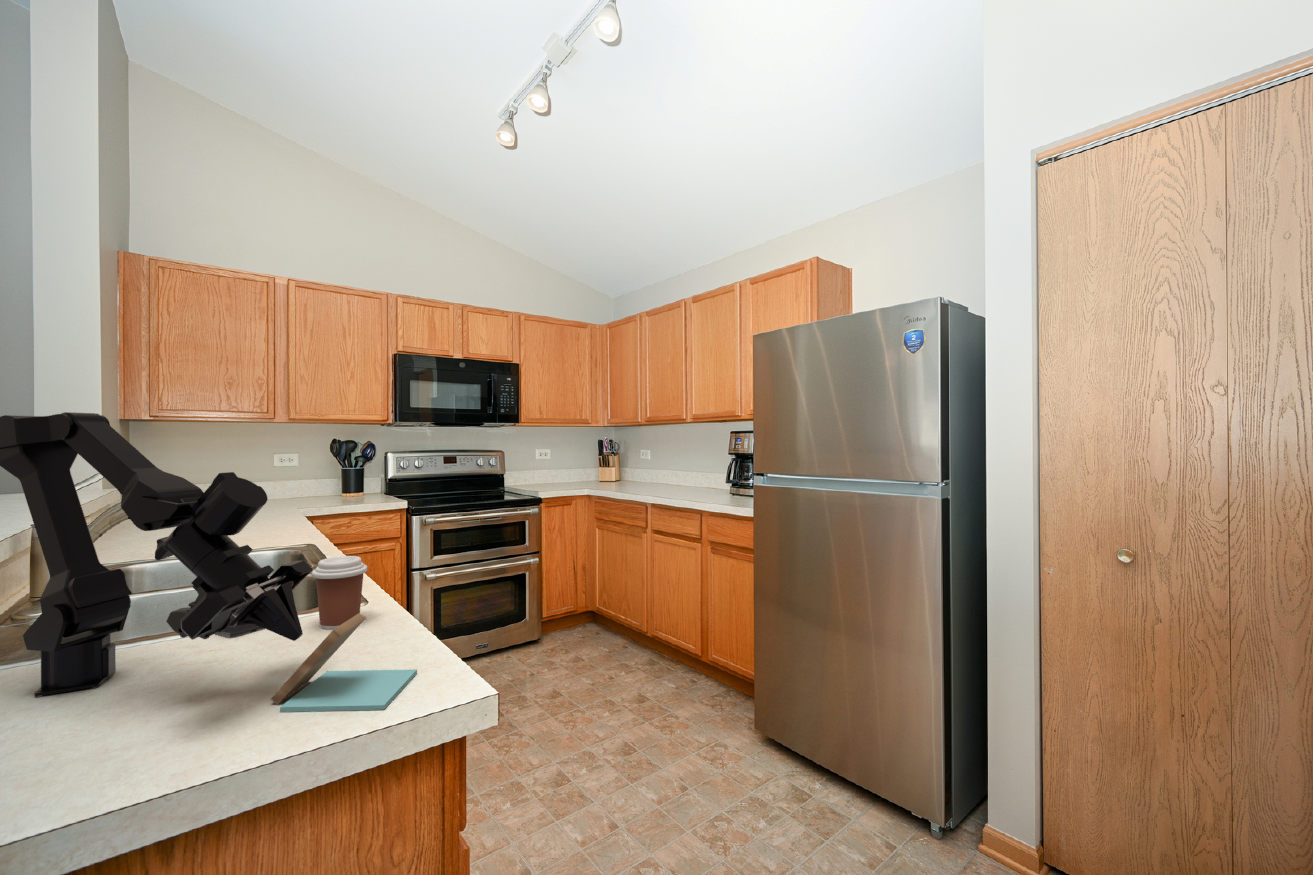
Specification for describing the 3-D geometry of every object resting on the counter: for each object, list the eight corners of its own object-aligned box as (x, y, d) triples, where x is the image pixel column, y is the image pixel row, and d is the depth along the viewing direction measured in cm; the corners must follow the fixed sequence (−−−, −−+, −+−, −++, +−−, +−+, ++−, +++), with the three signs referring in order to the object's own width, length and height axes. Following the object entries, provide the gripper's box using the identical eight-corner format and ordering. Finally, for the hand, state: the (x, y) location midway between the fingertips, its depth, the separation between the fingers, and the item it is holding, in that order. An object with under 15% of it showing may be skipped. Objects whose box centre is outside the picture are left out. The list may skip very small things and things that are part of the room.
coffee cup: (358, 630, 101) (358, 564, 101) (302, 633, 99) (303, 566, 99) (373, 614, 110) (373, 553, 110) (322, 617, 108) (322, 555, 108)
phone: (229, 610, 110) (277, 620, 104) (229, 616, 110) (277, 627, 104) (182, 622, 103) (230, 634, 97) (182, 628, 103) (230, 640, 97)
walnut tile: (270, 698, 73) (333, 629, 73) (302, 675, 80) (359, 612, 80) (277, 704, 73) (340, 635, 73) (308, 681, 80) (365, 618, 80)
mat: (279, 711, 71) (279, 707, 71) (327, 674, 82) (327, 670, 82) (384, 709, 72) (384, 705, 72) (417, 673, 83) (417, 669, 83)
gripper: (222, 582, 85) (297, 653, 85) (106, 623, 66) (203, 714, 67) (275, 530, 85) (349, 601, 86) (175, 556, 67) (270, 646, 67)
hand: (298, 637), depth 76 cm, fingers closed
